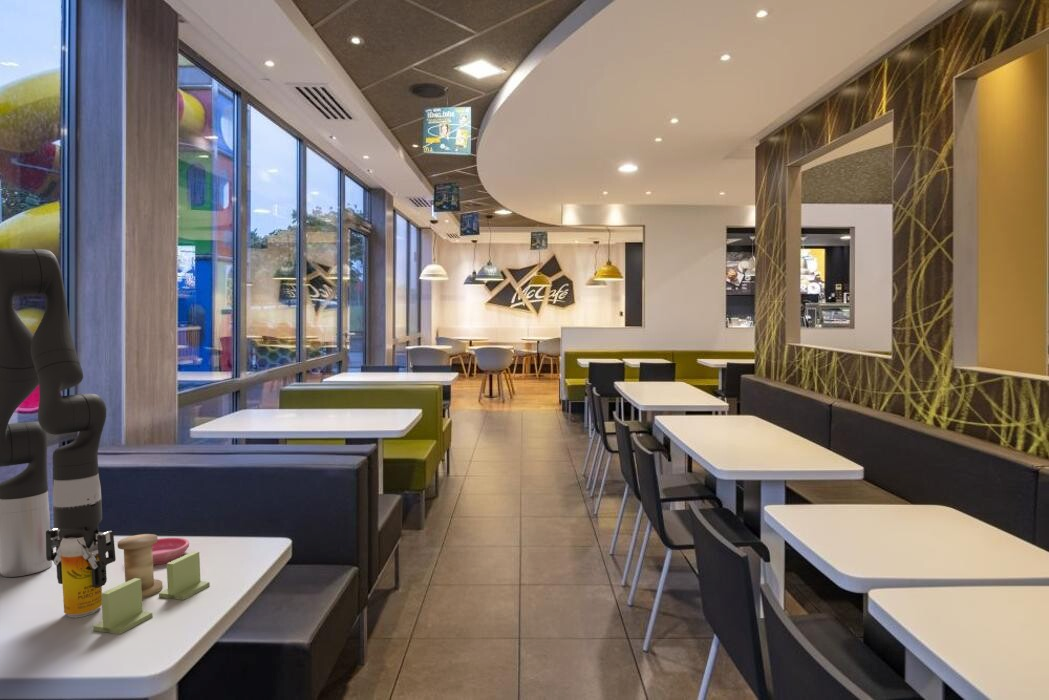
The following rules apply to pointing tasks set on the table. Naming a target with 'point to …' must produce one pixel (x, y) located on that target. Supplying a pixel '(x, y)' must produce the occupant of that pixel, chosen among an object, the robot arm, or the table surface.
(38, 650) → the table surface
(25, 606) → the table surface
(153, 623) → the table surface
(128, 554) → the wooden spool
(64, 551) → the beer can
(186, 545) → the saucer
